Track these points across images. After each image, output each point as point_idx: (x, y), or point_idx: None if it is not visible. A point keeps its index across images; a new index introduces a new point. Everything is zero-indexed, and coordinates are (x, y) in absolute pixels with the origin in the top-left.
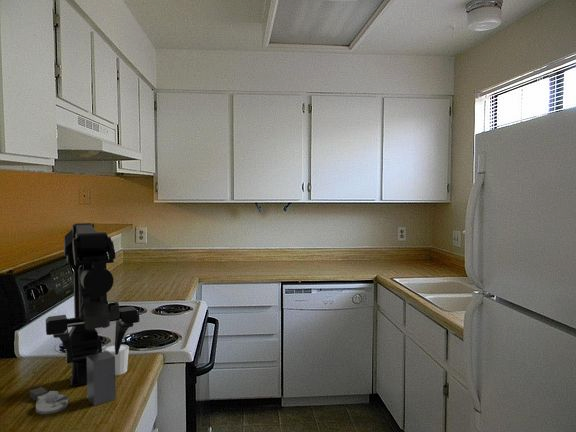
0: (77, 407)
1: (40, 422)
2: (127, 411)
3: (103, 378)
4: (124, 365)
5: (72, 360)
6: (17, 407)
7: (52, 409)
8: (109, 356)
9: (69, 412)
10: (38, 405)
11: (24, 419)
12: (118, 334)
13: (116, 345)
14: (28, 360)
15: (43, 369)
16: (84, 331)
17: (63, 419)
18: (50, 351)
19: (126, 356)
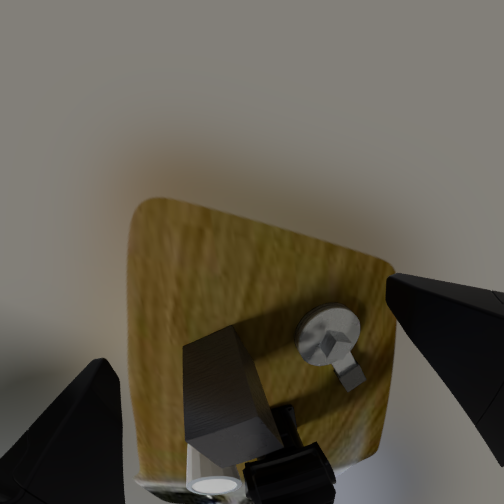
0: (271, 324)
1: (343, 269)
2: (138, 277)
3: (216, 380)
4: (190, 453)
5: (397, 278)
6: (379, 336)
7: (326, 309)
8: (206, 443)
9: (287, 303)
10: (355, 322)
11: (370, 288)
12: (26, 482)
13: (78, 404)
14: (352, 457)
15: (336, 444)
16: None
17: (297, 272)
18: None
19: (188, 469)
